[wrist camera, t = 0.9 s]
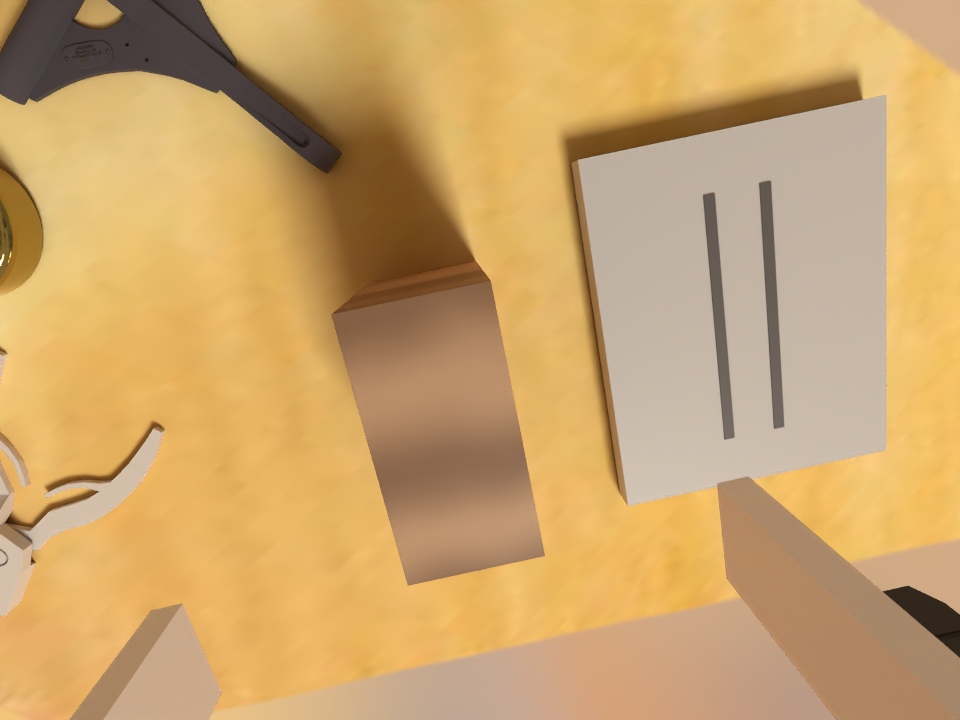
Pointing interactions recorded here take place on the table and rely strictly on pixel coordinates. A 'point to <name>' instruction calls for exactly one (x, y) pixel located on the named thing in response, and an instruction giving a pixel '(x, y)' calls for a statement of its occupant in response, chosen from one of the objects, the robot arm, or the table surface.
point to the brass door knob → (17, 234)
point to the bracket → (141, 60)
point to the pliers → (57, 512)
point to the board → (740, 298)
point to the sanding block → (441, 421)
